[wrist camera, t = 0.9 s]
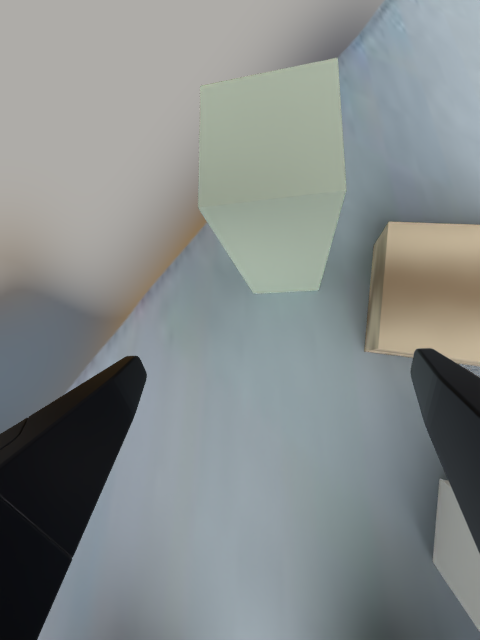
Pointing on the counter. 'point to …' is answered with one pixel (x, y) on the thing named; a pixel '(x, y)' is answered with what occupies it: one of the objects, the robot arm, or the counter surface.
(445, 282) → the oak base block
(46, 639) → the counter surface
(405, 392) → the counter surface
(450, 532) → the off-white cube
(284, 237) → the sage pillar
